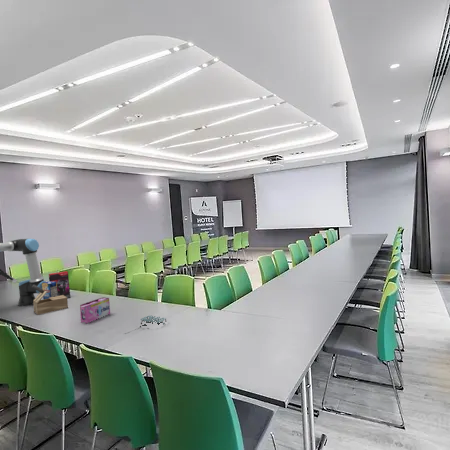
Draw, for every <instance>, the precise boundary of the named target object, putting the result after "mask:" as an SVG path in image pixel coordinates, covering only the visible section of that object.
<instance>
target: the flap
mask: <svg viewBox="0 0 450 450" xmlns="http://www.w3.org/2000/svg"><path fill="white" fill-rule="evenodd" d="M32 288H34V289H35V290H37V291H39V292H40V293H39V294H38V293H37V294H38V295H37V296H35V299H34V300H33V301H35V302H36V303H38V302H39V301H40V300H43V296H44V295H45V294H46V293H47V291H45V290H42V289H41V288H39V287H37V286H36V285H33V286H32Z"/></svg>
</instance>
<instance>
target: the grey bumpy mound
mask: <svg viewBox="0 0 450 450" xmlns="http://www.w3.org/2000/svg"><path fill="white" fill-rule="evenodd" d="M152 319H153V320H154V321H153V320H152ZM140 321H142V322H145V321H146V323H151V322H152V324H153V322H155V321H156V322H157V324H158V325H159V324H160V323H163V322H167V317H160V316H157V317H156V315H155V316H153V315H146V316H145V317H142V318H140ZM149 321H150V322H149ZM156 322H155V323H156ZM159 322H160V323H159ZM142 326H147V325H146V324H144V325H142Z"/></svg>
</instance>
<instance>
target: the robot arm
mask: <svg viewBox="0 0 450 450" xmlns="http://www.w3.org/2000/svg"><path fill="white" fill-rule="evenodd" d="M39 247H40V244H39V241H38V240H37V239H34V238H20V239H19V238H18V239H14V240H8V241H6V242H0V253H1V252H6V251H7V252H22V255H23V256H25V259H26V264H27V269H28V273H29V277H30V279H25V280H22V281H19V282H18V280H17V279H16V278H15V277H13V276H11V275H9V274H8V273H7V272H5V271H4V270H2V269H1V268H0V276H3V277H4V278H5V279H6V280H9V281H10V282H12V283H14V284H16V283H17V282H18V293H19V294H18V295H19V298H18V302H17V304H18V306H19V307H23V306H31V305H33V302H34V301H33V300H34V299H35V298H36V296H35V294H39V293H40V292H39V291H37V290H35V289H34V288H32V286H33V285H36V286H37V287H39V288H41V289H42V283H44V282H47V281H45V280H44V277H42V275H41V271H40V266H39V261H38V258H37V257H38V256H37V252H38V250H39ZM42 290H43V289H42Z"/></svg>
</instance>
